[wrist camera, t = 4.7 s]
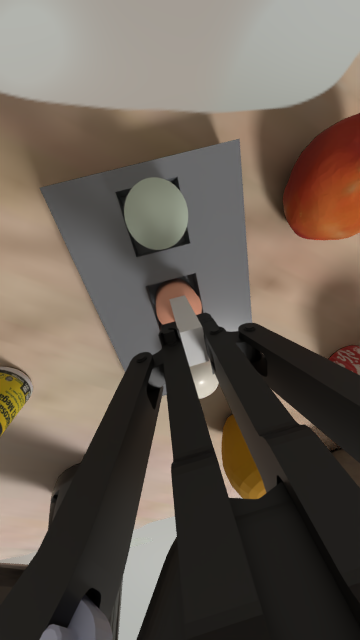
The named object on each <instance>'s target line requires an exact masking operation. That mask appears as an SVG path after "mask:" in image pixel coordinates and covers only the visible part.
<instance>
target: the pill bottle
mask: <svg viewBox="0 0 360 640" xmlns="http://www.w3.org/2000/svg"><path fill="white" fill-rule="evenodd" d="M32 391H33V385H32V382H31V380H30V379H29V378H28V376H27V375H25V374H24V373H23V372H21V371H19V370H17V369H14V368H10V367H0V436H1V435H2V434H3V432H4V431H5V430H6V428H7V427H8V426H9V424H10V423H11V422H12V420H13V419H14V418H15V416H16V415H17V414H18V412H19V411H20V410H21V408H22V407H23V406H24V404H25V403H26V402H27V400H28V399H29V397H30V396H31V394H32Z"/></svg>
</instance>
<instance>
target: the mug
mask: <svg viewBox="0 0 360 640" xmlns="http://www.w3.org/2000/svg"><path fill="white" fill-rule="evenodd" d="M328 360H330V361H332V362H334V363H336V364H338V365H340V366H342V367H344V368H346V369H348V370H350V371H352V372H354V373H356V374H358V375H360V346H355V345H351V346H347V347H344V348H342V349H340V350H338V351H337V352H335V353H334V354H333V355H332V356H331V357H330V358H329V359H328Z"/></svg>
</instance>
